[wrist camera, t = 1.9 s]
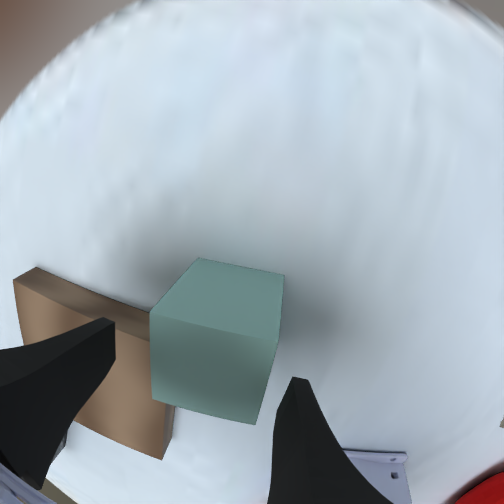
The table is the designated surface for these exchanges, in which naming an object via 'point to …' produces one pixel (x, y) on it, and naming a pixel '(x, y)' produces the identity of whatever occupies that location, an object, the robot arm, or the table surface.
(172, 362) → the teal block
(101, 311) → the walnut slab
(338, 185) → the table surface
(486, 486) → the tomato
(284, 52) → the table surface
